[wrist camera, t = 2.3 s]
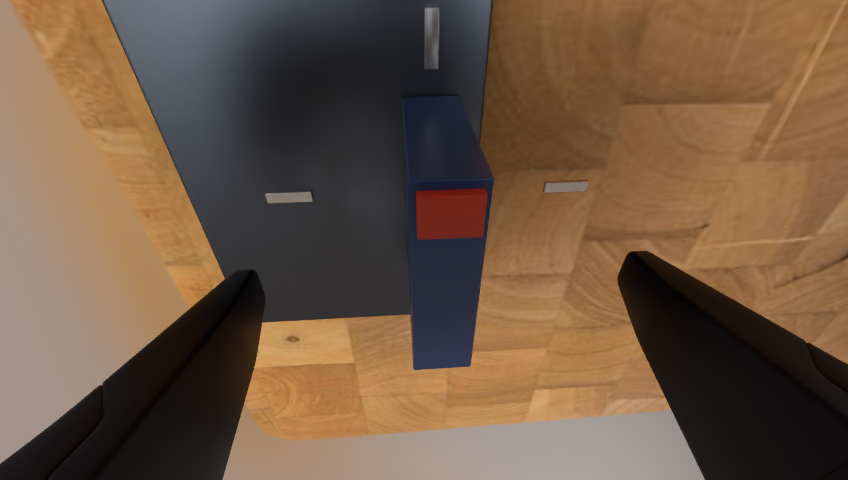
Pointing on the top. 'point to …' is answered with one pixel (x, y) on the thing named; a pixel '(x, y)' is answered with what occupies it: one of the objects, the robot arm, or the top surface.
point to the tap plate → (304, 131)
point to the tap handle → (444, 228)
